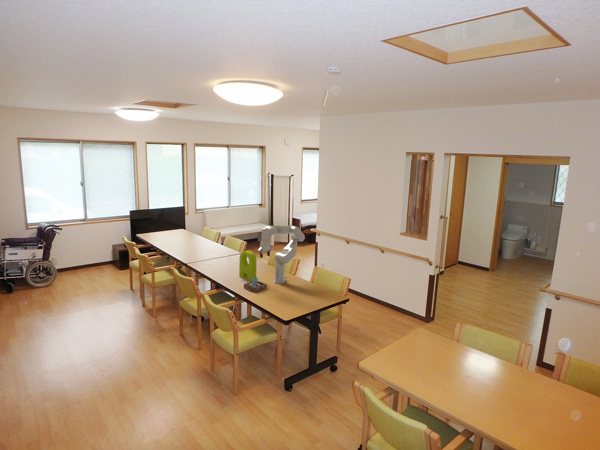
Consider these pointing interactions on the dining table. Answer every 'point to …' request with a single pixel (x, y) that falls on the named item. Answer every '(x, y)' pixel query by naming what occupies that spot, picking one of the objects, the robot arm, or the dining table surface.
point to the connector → (254, 281)
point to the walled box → (255, 288)
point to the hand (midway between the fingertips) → (264, 256)
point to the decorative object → (247, 265)
